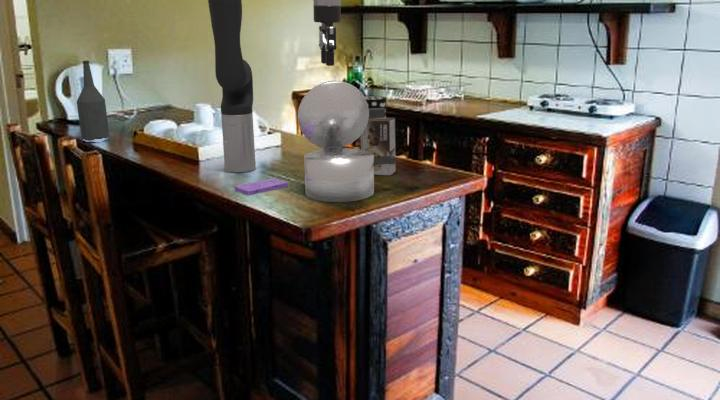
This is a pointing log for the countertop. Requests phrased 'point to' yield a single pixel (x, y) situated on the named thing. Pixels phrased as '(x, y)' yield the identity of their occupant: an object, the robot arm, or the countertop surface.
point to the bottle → (91, 109)
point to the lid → (335, 114)
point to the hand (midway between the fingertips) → (327, 64)
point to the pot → (341, 174)
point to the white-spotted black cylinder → (375, 105)
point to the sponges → (261, 186)
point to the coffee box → (380, 142)
